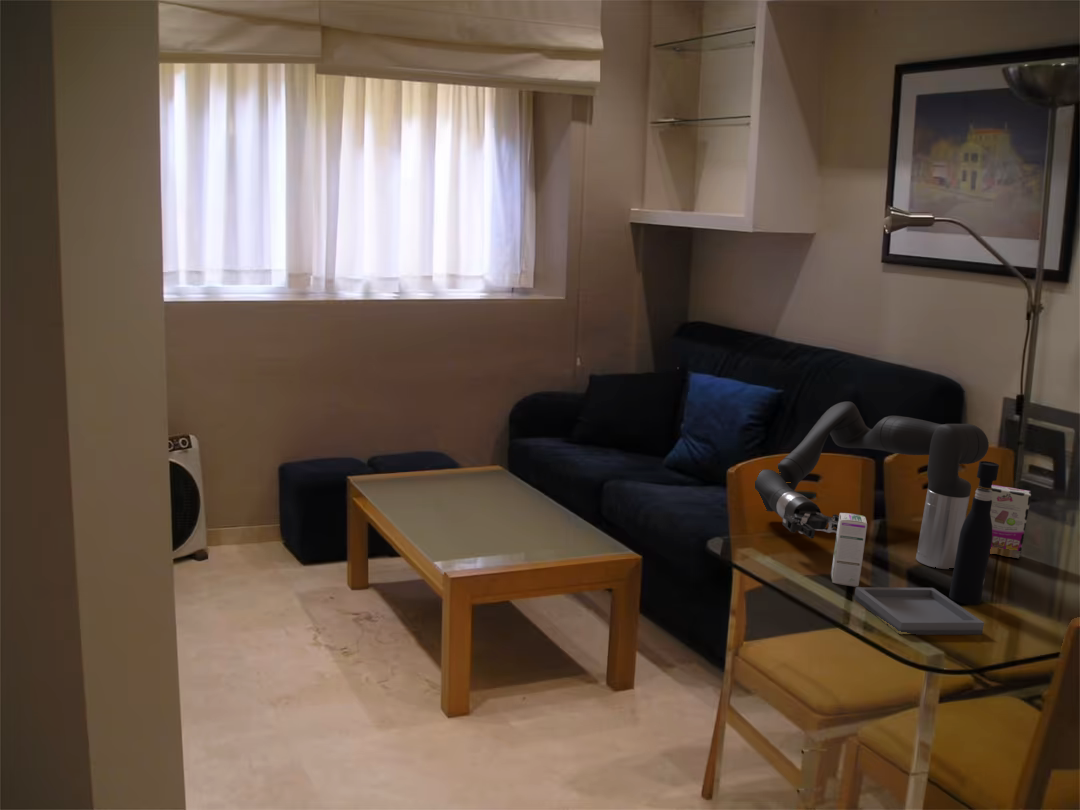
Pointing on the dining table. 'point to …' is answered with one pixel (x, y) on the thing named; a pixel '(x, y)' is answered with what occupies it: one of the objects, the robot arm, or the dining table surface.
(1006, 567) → the dining table surface
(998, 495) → the candy bar box
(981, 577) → the dark water bottle
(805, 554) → the dining table surface
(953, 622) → the tray
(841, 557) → the syrup box
